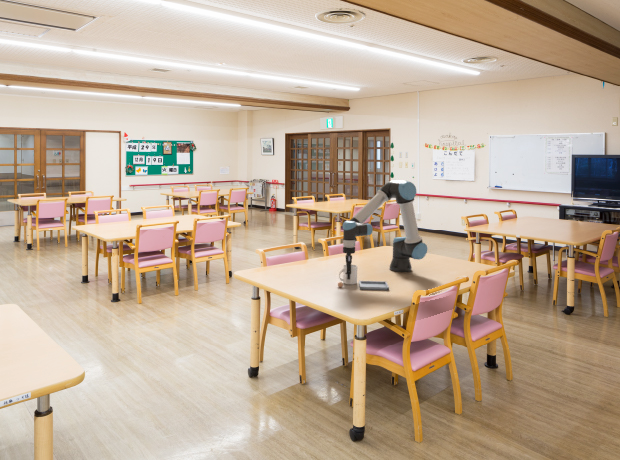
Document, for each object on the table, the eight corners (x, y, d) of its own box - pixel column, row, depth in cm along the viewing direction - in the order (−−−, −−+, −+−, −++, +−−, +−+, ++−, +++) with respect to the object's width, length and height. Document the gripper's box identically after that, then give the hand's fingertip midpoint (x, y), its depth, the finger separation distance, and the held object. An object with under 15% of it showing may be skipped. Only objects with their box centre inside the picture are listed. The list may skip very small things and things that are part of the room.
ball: (343, 286, 294) (343, 281, 293) (343, 288, 291) (343, 282, 290) (337, 286, 294) (337, 281, 293) (337, 288, 291) (337, 282, 290)
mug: (335, 282, 304) (336, 265, 302) (352, 280, 309) (353, 264, 307) (342, 285, 296) (342, 268, 294) (359, 283, 301) (359, 267, 299)
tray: (386, 284, 301) (386, 281, 301) (388, 290, 287) (389, 287, 287) (358, 283, 302) (358, 280, 301) (360, 289, 288) (360, 286, 288)
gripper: (342, 243, 310) (341, 277, 314) (343, 249, 289) (342, 286, 293) (354, 243, 310) (353, 278, 313) (356, 249, 289) (354, 286, 292)
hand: (348, 282), depth 303 cm, fingers closed on mug, 9 cm apart
